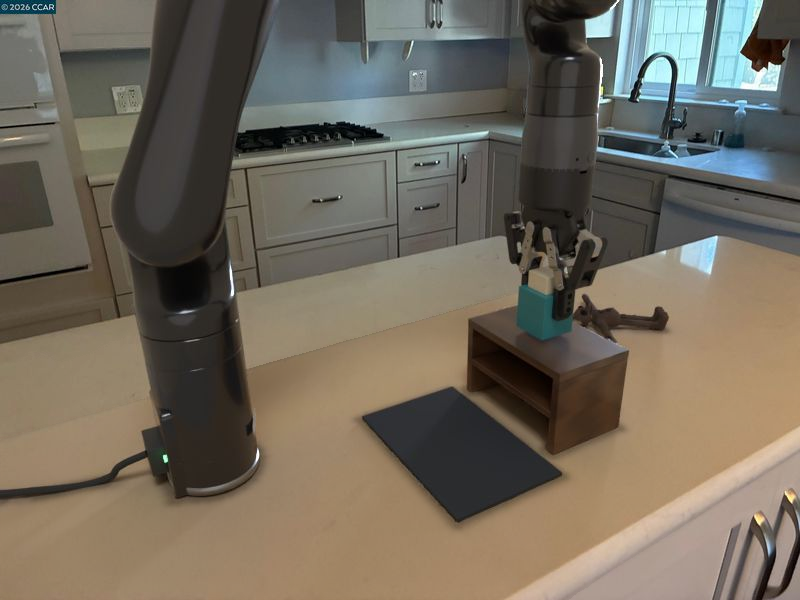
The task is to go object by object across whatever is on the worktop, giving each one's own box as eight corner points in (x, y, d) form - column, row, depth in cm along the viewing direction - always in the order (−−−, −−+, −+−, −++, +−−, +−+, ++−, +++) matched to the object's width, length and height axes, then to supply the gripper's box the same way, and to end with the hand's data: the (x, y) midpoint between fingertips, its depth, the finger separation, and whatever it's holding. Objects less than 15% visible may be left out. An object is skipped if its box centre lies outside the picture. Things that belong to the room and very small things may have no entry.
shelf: (552, 455, 66) (560, 374, 62) (466, 389, 79) (468, 318, 75) (618, 427, 71) (629, 349, 67) (526, 368, 83) (531, 301, 80)
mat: (457, 522, 57) (457, 519, 57) (361, 418, 73) (361, 415, 73) (562, 475, 63) (562, 472, 63) (452, 388, 79) (452, 386, 79)
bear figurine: (689, 334, 85) (584, 325, 85) (681, 361, 87) (578, 353, 87) (646, 286, 102) (559, 279, 102) (640, 310, 103) (554, 302, 103)
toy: (542, 340, 68) (546, 281, 65) (516, 326, 71) (519, 269, 69) (571, 331, 70) (577, 273, 67) (545, 317, 73) (549, 262, 71)
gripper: (486, 153, 67) (480, 297, 74) (581, 174, 56) (565, 343, 62) (538, 146, 71) (529, 285, 77) (639, 165, 59) (617, 326, 66)
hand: (545, 310), depth 70 cm, fingers closed on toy, 4 cm apart
